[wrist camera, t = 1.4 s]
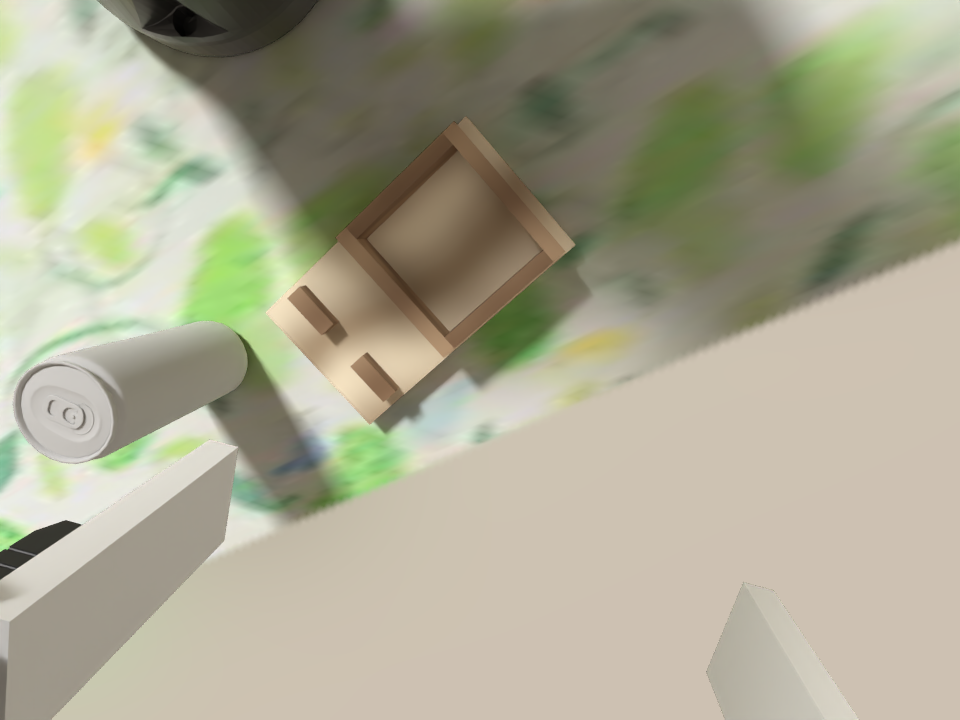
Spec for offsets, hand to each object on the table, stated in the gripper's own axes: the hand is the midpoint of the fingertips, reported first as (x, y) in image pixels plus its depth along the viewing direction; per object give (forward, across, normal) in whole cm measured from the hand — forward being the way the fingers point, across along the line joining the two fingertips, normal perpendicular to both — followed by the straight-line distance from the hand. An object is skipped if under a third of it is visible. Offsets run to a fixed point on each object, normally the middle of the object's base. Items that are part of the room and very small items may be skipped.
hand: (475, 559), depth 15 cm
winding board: (+21, -6, +4) cm, 22 cm away
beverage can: (+21, -18, -4) cm, 28 cm away
